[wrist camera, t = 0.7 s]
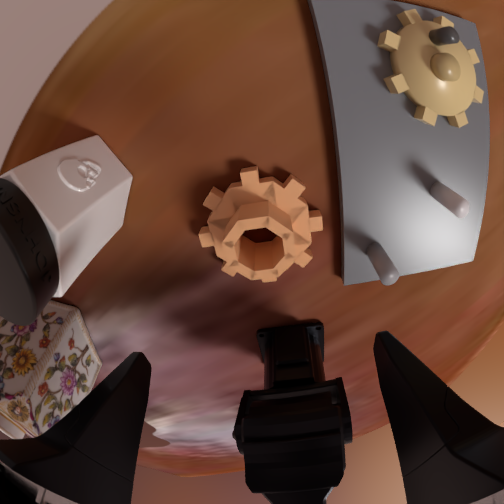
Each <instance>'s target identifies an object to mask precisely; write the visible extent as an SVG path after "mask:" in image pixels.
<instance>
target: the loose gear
mask: <svg viewBox="0 0 504 504" xmlns="http://www.w3.org/2000/svg"><path fill="white" fill-rule="evenodd" d="M240 176H241V181H240V182H235V183H231V184H230V186H229V187H228V188H227V190H226V191H225V193H223V192H222V191H220V190H219V189H217V188H215V187H213V188H212V190H211V191H210V193H209V194H208V196H207V197H206V199H205V201H204V203H203V204H202V205H204V206H206V207H207V208H209V209H211V210H212V212H211V214H210V216H209V218H208V220H207V223H208V226H205V227H201V230H200V232H199V234H198V235H199V238H200V241H201V245H202V247H208V246H214V247H215V251H216V254H217V256H218V257H220V258H221V259H223V260H224V261H223V264H222V268H221V270H222V271H224V272H226V273H227V274H229V275H231V276H234V275H235V274H236V273H237V272H238V273H240V274H242V275H243V276H245V277H247V278H249V279H250V280H258V279H262V282H271V281H277V278H276V277H279V276H280V275H281V274H282V273H283V272H284V271H285V270H287V269H288V268H289V267H290V266H291V265H292V264H293V263H294V262H295V263H297V264H298V265H300V266H301V267H303V268H304V267H305V265H306V264H307V263H308V262H309V261H310V260H311V259H312V258H313V257H312V253H311V249H309V248H308V246H309V245H310V244H311V232H314V231H322V230H323V224H322V215H321V213H320V211H319V210H311V211H308V205H307V202H306V200H305V199H304V198H303V197H301V196H300V195H301V193H302V192H303V191H304V190H305V189H306V187H305V185H304V183H303V182H302V181H300V180H299V179H298V178H296V177H295V176H294V175H292V174H290V176H289V177H288V178H287V179H286V181H285V182H284V183H282V182H280V181H279V180H277V179H276V178H274V177H273V176H271V177H265V178H259V172H258V167H257V166H254V167H248V168H242V169H241V171H240ZM265 227H266V228H267V229H269V230H270V231H272V232H273V233H275V234H277V235H276V237H275V238H274V239H273V240H272V241H268V242H261V243H255V242H253V241H251V240H250V239H248V238H247V237H245V236H243V235H242V234H243V232H244V231H245V230H251V229H258V228H265Z"/></svg>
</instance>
